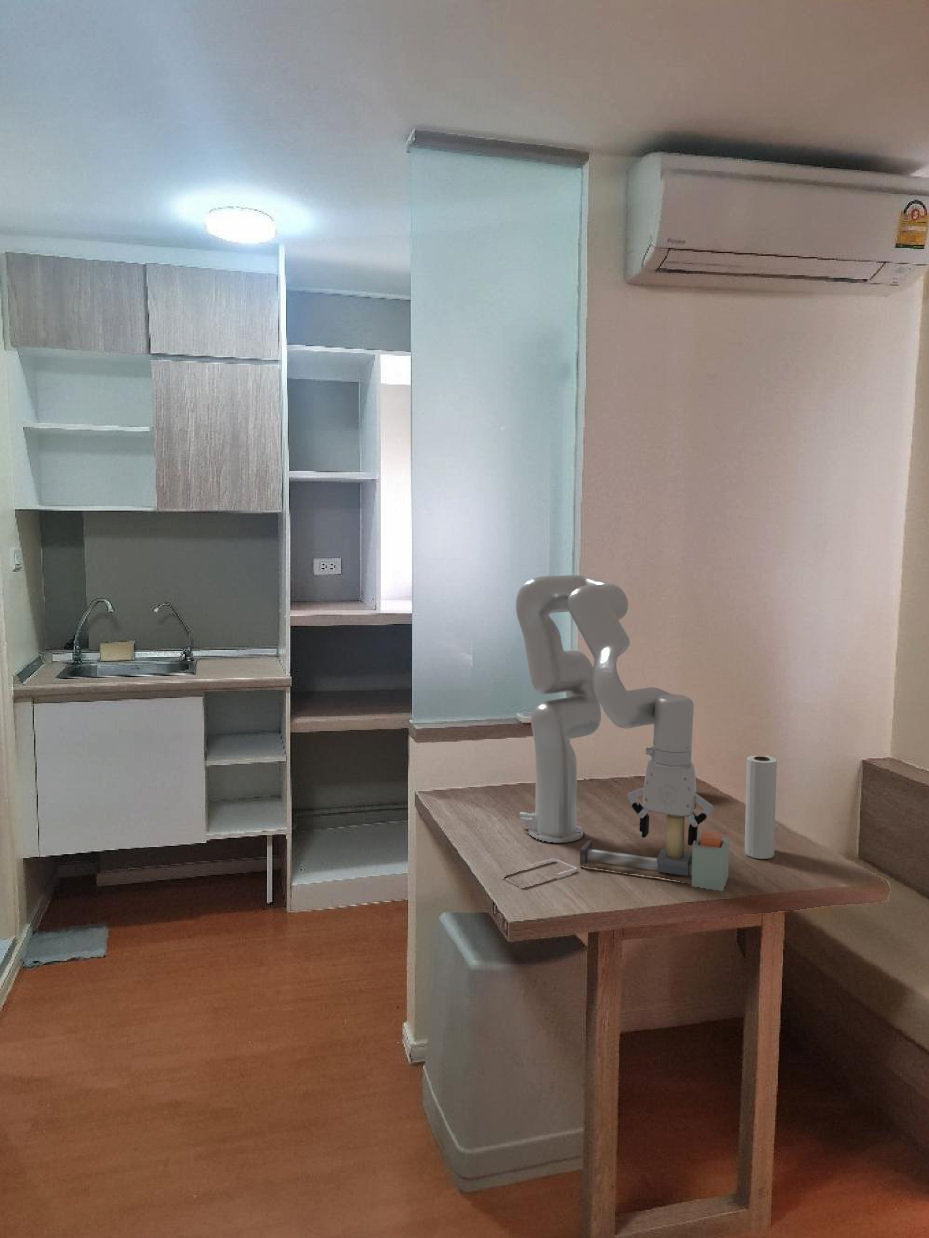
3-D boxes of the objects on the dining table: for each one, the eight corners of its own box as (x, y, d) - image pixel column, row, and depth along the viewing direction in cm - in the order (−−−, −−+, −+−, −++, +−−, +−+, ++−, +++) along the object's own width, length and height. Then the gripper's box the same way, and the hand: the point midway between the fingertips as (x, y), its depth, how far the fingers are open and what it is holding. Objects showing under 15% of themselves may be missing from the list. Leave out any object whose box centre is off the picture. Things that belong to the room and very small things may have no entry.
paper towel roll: (758, 861, 185) (760, 762, 183) (738, 852, 191) (740, 756, 189) (784, 856, 188) (787, 759, 186) (764, 847, 193) (766, 752, 192)
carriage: (656, 873, 175) (657, 818, 174) (662, 863, 181) (663, 810, 180) (687, 877, 173) (688, 822, 172) (692, 867, 178) (693, 813, 177)
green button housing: (691, 886, 172) (692, 847, 171) (697, 872, 179) (698, 834, 178) (723, 891, 169) (723, 851, 169) (728, 876, 177) (729, 838, 176)
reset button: (700, 852, 173) (700, 837, 172) (702, 846, 176) (703, 831, 176) (718, 855, 171) (719, 839, 171) (721, 849, 175) (721, 833, 174)
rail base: (579, 867, 182) (580, 849, 182) (587, 858, 187) (587, 840, 187) (692, 884, 173) (692, 865, 172) (697, 874, 178) (697, 855, 178)
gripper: (624, 755, 175) (621, 838, 177) (713, 767, 168) (708, 853, 170) (633, 746, 182) (630, 826, 184) (719, 757, 175) (714, 840, 177)
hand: (667, 839), depth 177 cm, fingers open, 8 cm apart
